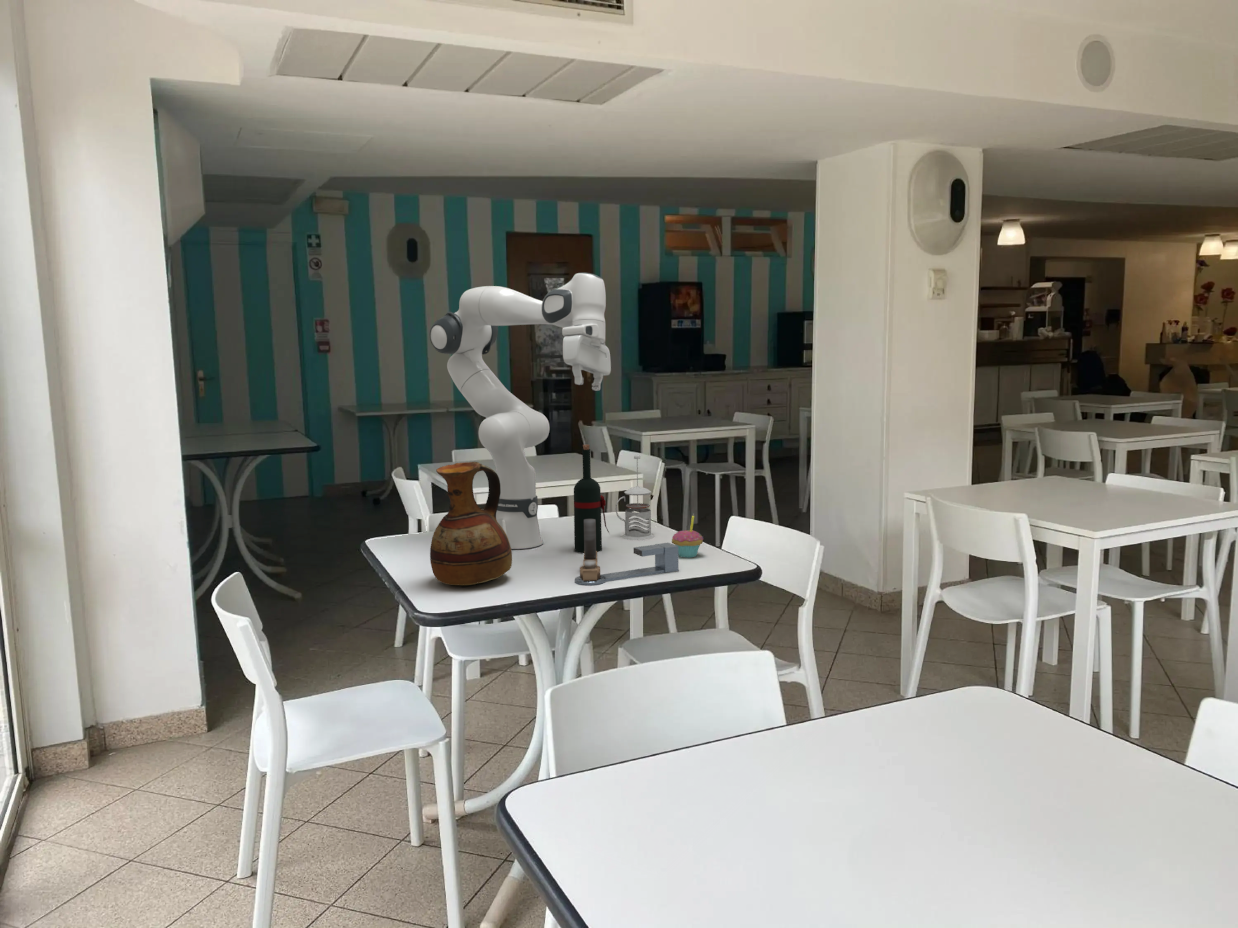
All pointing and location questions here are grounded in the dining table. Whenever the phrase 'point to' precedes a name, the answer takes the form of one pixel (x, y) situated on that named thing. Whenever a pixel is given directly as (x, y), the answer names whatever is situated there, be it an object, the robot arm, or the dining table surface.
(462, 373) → the robot arm
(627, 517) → the french press
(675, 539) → the cupcake
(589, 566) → the walnut link
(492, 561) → the ceramic pitcher
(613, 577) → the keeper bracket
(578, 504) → the wine bottle
